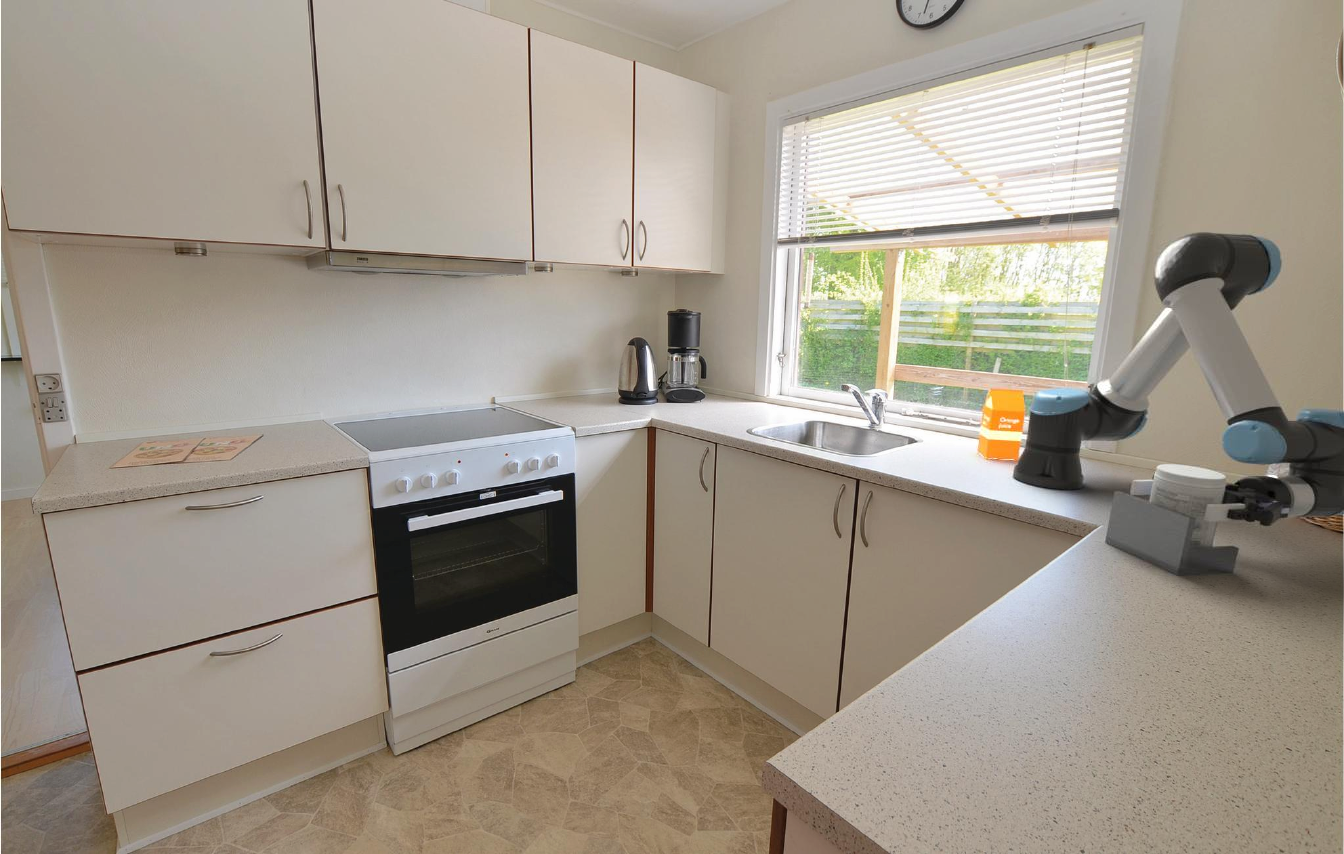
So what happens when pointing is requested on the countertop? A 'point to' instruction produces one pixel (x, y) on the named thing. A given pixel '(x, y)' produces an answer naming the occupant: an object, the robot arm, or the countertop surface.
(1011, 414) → the orange juice
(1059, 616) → the countertop surface
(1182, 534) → the bracket
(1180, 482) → the supplement tub
